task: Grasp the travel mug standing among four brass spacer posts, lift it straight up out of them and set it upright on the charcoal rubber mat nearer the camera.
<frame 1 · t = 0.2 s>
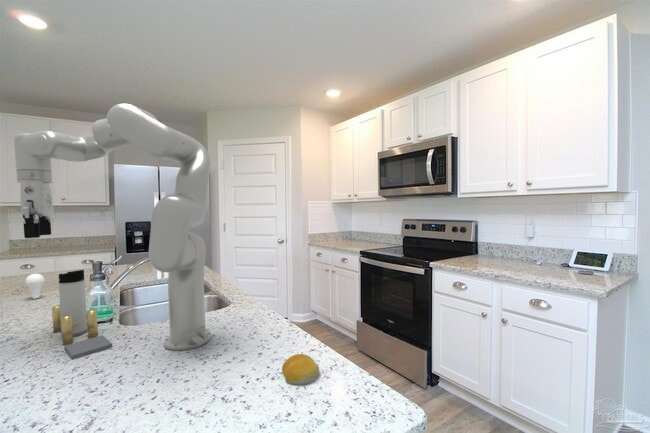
hand: (38, 236, 92), 31 cm above the countertop, tool pointing down, fingers open, 9 cm apart
spacer posts: (75, 333, 98), on the countertop
mat: (88, 348, 88), on the countertop
bread roll: (300, 376, 73), on the countertop
travel mug: (75, 334, 98), on the countertop
lightbulb: (36, 299, 136), on the countertop
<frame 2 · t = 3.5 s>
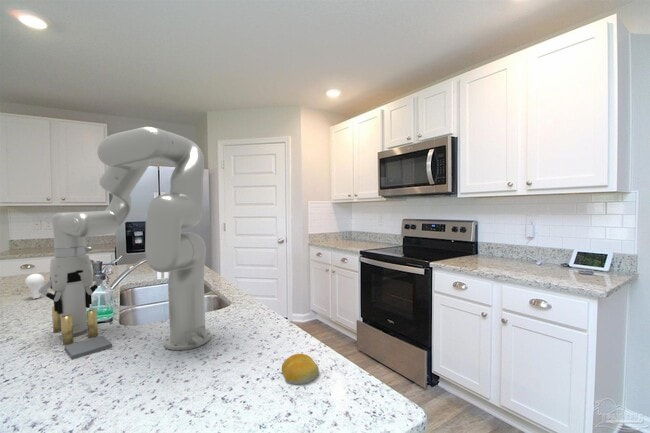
hand: (73, 309, 98), 8 cm above the countertop, tool pointing down, fingers closed on travel mug, 6 cm apart
travel mug: (75, 334, 98), on the countertop, touching gripper
everything else where it was.
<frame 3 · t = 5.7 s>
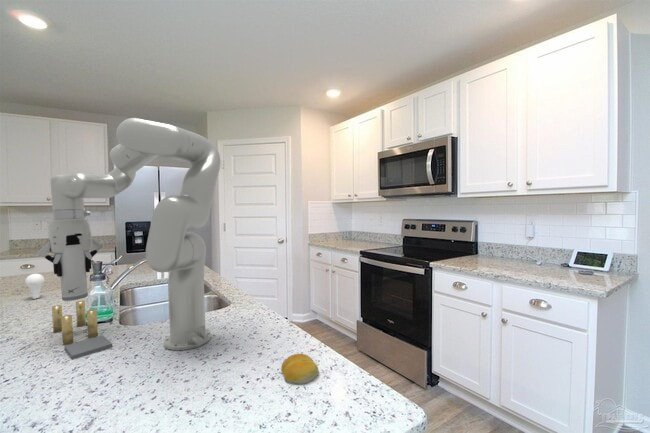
hand: (73, 273, 97), 19 cm above the countertop, tool pointing down, fingers closed on travel mug, 6 cm apart
travel mug: (75, 298, 98), point 11 cm above the countertop, touching gripper
everything else where it was.
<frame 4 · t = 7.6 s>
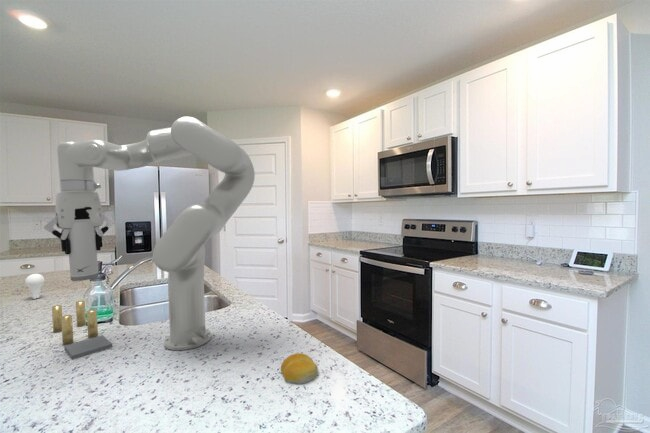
hand: (83, 251, 88), 27 cm above the countertop, tool pointing down, fingers closed on travel mug, 6 cm apart
travel mug: (85, 279, 89), point 19 cm above the countertop, touching gripper
everything else where it was.
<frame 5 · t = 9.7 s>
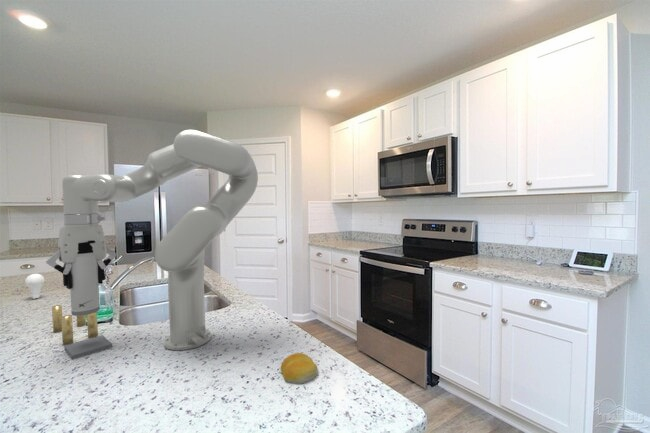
hand: (84, 284, 87), 18 cm above the countertop, tool pointing down, fingers closed on travel mug, 6 cm apart
travel mug: (86, 312, 88), point 10 cm above the countertop, touching gripper
everything else where it was.
when the fingers open (10 cm above the countertop, at t = 11.7 s): travel mug drops 1 cm, resting on mat.
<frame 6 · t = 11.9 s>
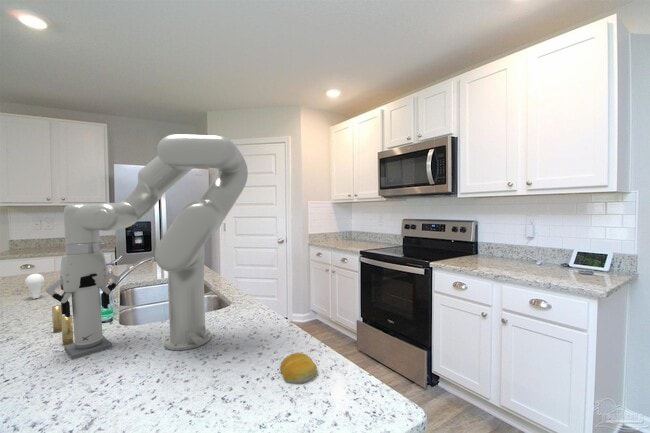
hand: (86, 311, 88), 10 cm above the countertop, tool pointing down, fingers open, 8 cm apart
travel mug: (89, 345, 88), point 1 cm above the countertop, touching mat
everything else where it was.
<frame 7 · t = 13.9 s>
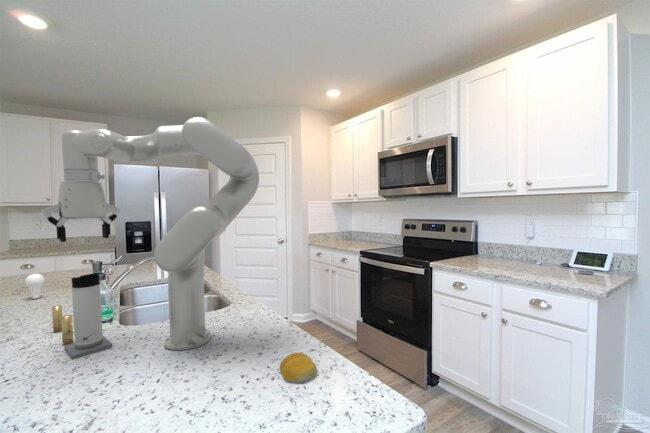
hand: (85, 239, 87), 30 cm above the countertop, tool pointing down, fingers open, 9 cm apart
nothing on the countertop moved.
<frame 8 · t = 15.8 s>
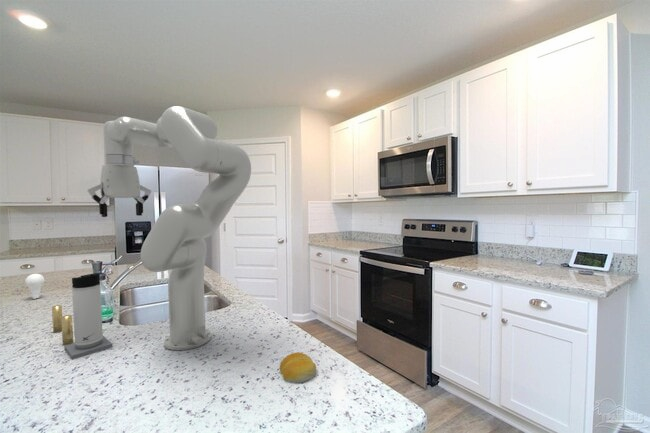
hand: (122, 216, 100), 36 cm above the countertop, tool pointing down, fingers open, 9 cm apart
at the end: travel mug 0.4 cm off-centre on the mat, point 0.8 cm above the mat's base; travel mug tilted 0°; the gripper is holding nothing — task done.
